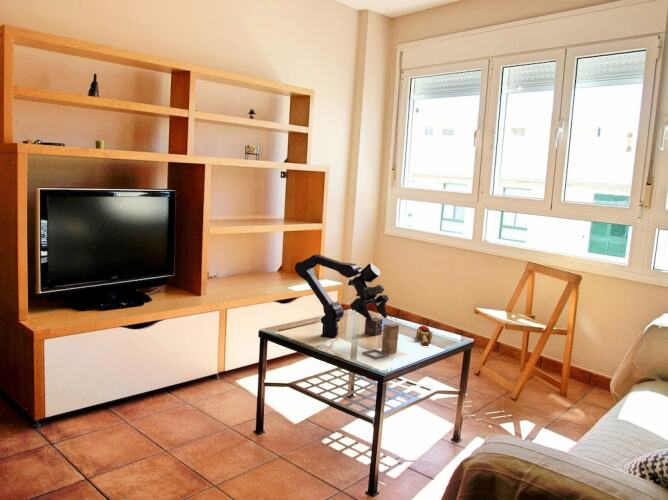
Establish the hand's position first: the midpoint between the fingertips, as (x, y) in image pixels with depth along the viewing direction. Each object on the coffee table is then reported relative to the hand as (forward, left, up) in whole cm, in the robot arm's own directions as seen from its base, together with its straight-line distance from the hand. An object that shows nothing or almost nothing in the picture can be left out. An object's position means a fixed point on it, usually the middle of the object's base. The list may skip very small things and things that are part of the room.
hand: (378, 319), depth 245 cm
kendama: (+17, +24, -14) cm, 32 cm away
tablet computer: (-7, +39, -14) cm, 42 cm away
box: (-7, +23, -14) cm, 28 cm away
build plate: (+4, -7, -14) cm, 16 cm away
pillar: (+7, -4, -13) cm, 15 cm away
